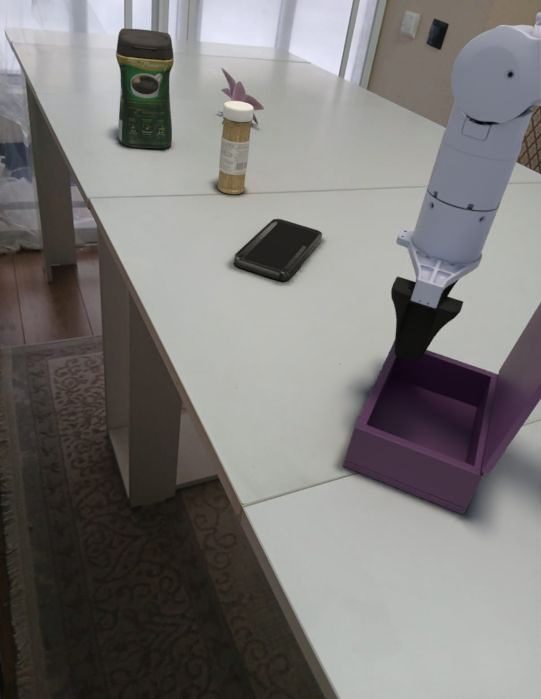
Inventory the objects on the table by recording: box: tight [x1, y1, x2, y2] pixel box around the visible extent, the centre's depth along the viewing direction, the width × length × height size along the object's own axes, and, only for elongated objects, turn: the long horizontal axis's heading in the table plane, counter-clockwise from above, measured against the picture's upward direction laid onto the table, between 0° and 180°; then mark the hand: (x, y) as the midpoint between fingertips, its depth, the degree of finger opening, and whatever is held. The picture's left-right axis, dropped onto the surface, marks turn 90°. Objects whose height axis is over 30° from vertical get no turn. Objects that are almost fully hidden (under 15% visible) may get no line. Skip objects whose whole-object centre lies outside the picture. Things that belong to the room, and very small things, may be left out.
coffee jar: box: [115, 27, 175, 149], centre depth 104 cm, size 10×8×19 cm
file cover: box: [481, 301, 541, 475], centre depth 48 cm, size 11×15×1 cm
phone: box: [233, 218, 323, 282], centre depth 82 cm, size 8×1×15 cm
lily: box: [221, 67, 265, 126], centre depth 124 cm, size 12×12×10 cm
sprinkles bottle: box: [217, 100, 255, 195], centre depth 93 cm, size 5×5×14 cm
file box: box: [342, 339, 499, 515], centre depth 55 cm, size 11×15×5 cm
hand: (415, 335), depth 55 cm, fingers open, 7 cm apart
